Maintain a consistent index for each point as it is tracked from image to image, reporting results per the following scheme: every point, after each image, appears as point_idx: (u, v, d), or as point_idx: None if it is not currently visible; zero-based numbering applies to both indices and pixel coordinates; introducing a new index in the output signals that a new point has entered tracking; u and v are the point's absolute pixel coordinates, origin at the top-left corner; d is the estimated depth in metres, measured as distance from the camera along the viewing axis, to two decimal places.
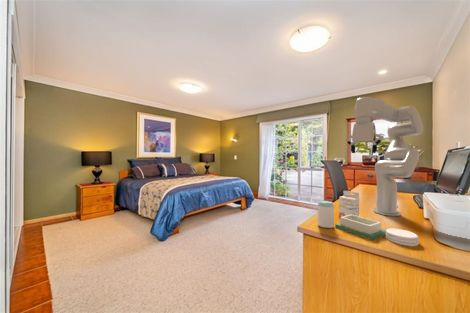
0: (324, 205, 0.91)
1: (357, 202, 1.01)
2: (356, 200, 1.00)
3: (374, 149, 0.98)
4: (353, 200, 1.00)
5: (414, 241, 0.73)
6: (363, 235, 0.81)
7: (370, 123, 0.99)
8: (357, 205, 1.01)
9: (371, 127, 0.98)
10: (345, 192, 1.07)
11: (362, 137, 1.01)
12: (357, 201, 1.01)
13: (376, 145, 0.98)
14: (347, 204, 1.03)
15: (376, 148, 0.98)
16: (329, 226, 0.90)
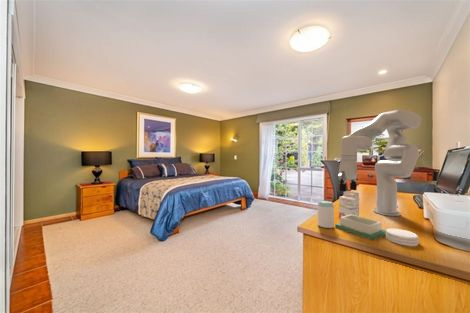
0: (324, 205, 0.91)
1: (357, 202, 1.01)
2: (356, 200, 1.00)
3: None
4: (353, 200, 1.00)
5: (414, 241, 0.73)
6: (363, 235, 0.81)
7: None
8: (357, 205, 1.01)
9: (356, 166, 1.04)
10: (345, 192, 1.07)
11: (352, 175, 1.02)
12: (357, 201, 1.01)
13: None
14: (347, 204, 1.03)
15: None
16: (329, 226, 0.90)
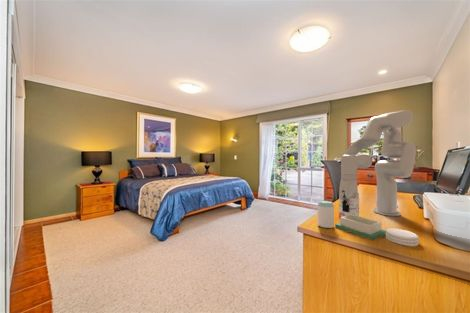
0: (324, 205, 0.91)
1: (357, 202, 1.01)
2: (356, 200, 1.00)
3: None
4: (353, 200, 1.00)
5: (414, 241, 0.73)
6: (363, 235, 0.81)
7: (356, 181, 1.04)
8: (357, 205, 1.01)
9: None
10: None
11: (353, 194, 1.02)
12: (357, 201, 1.01)
13: None
14: None
15: None
16: (329, 226, 0.90)
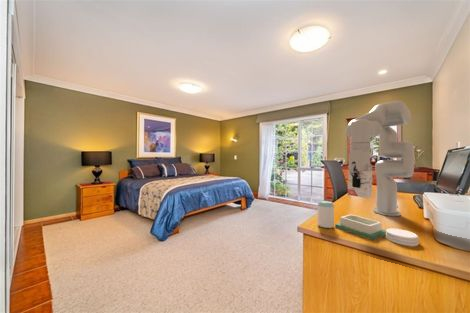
0: (324, 205, 0.91)
1: (370, 175, 0.84)
2: (369, 172, 0.84)
3: None
4: (365, 172, 0.84)
5: (414, 241, 0.73)
6: (363, 235, 0.81)
7: None
8: (370, 179, 0.84)
9: (369, 156, 0.88)
10: None
11: (365, 166, 0.86)
12: (370, 174, 0.84)
13: None
14: None
15: None
16: (329, 226, 0.90)
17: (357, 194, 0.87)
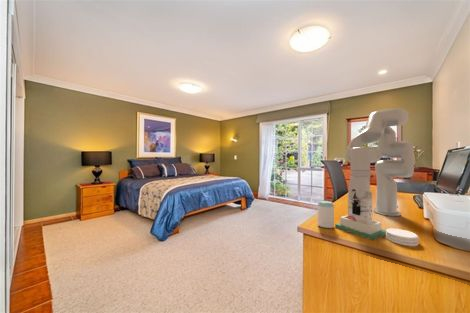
0: (324, 205, 0.91)
1: (370, 203, 0.84)
2: (369, 201, 0.84)
3: None
4: (365, 201, 0.84)
5: (414, 241, 0.73)
6: (363, 235, 0.81)
7: None
8: (370, 207, 0.84)
9: (369, 182, 0.88)
10: None
11: (365, 194, 0.86)
12: (370, 202, 0.84)
13: None
14: None
15: None
16: (329, 226, 0.90)
17: (357, 221, 0.87)
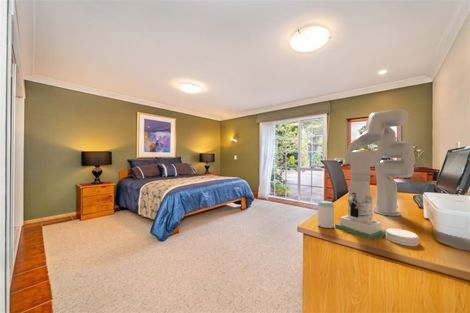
0: (324, 205, 0.91)
1: (370, 208, 0.84)
2: (369, 205, 0.84)
3: None
4: (365, 205, 0.84)
5: (414, 241, 0.73)
6: (363, 235, 0.81)
7: None
8: (370, 211, 0.84)
9: (369, 186, 0.88)
10: None
11: (365, 197, 0.86)
12: (370, 206, 0.84)
13: None
14: (358, 210, 0.86)
15: None
16: (329, 226, 0.90)
17: None
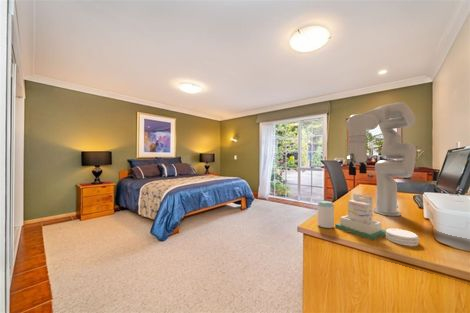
0: (324, 205, 0.91)
1: (370, 208, 0.84)
2: (369, 205, 0.84)
3: None
4: (365, 205, 0.84)
5: (414, 241, 0.73)
6: (363, 235, 0.81)
7: (365, 143, 0.95)
8: (370, 211, 0.84)
9: None
10: (356, 195, 0.91)
11: (362, 157, 0.93)
12: (370, 206, 0.84)
13: None
14: (358, 210, 0.86)
15: None
16: (329, 226, 0.90)
17: None
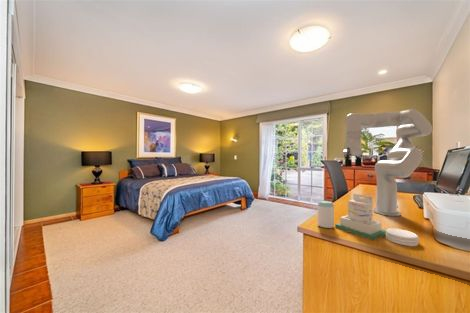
0: (324, 205, 0.91)
1: (370, 208, 0.84)
2: (369, 205, 0.84)
3: None
4: (365, 205, 0.84)
5: (414, 241, 0.73)
6: (363, 235, 0.81)
7: (360, 139, 1.08)
8: (370, 211, 0.84)
9: None
10: (356, 195, 0.91)
11: (357, 151, 1.06)
12: (370, 206, 0.84)
13: None
14: (358, 210, 0.86)
15: None
16: (329, 226, 0.90)
17: None
